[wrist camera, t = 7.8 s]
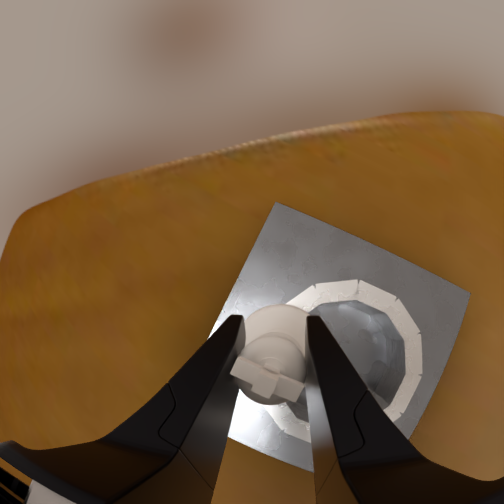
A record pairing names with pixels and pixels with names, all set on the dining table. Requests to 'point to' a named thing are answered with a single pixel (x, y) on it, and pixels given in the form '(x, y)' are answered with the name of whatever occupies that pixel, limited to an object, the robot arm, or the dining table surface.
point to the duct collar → (345, 323)
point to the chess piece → (273, 355)
